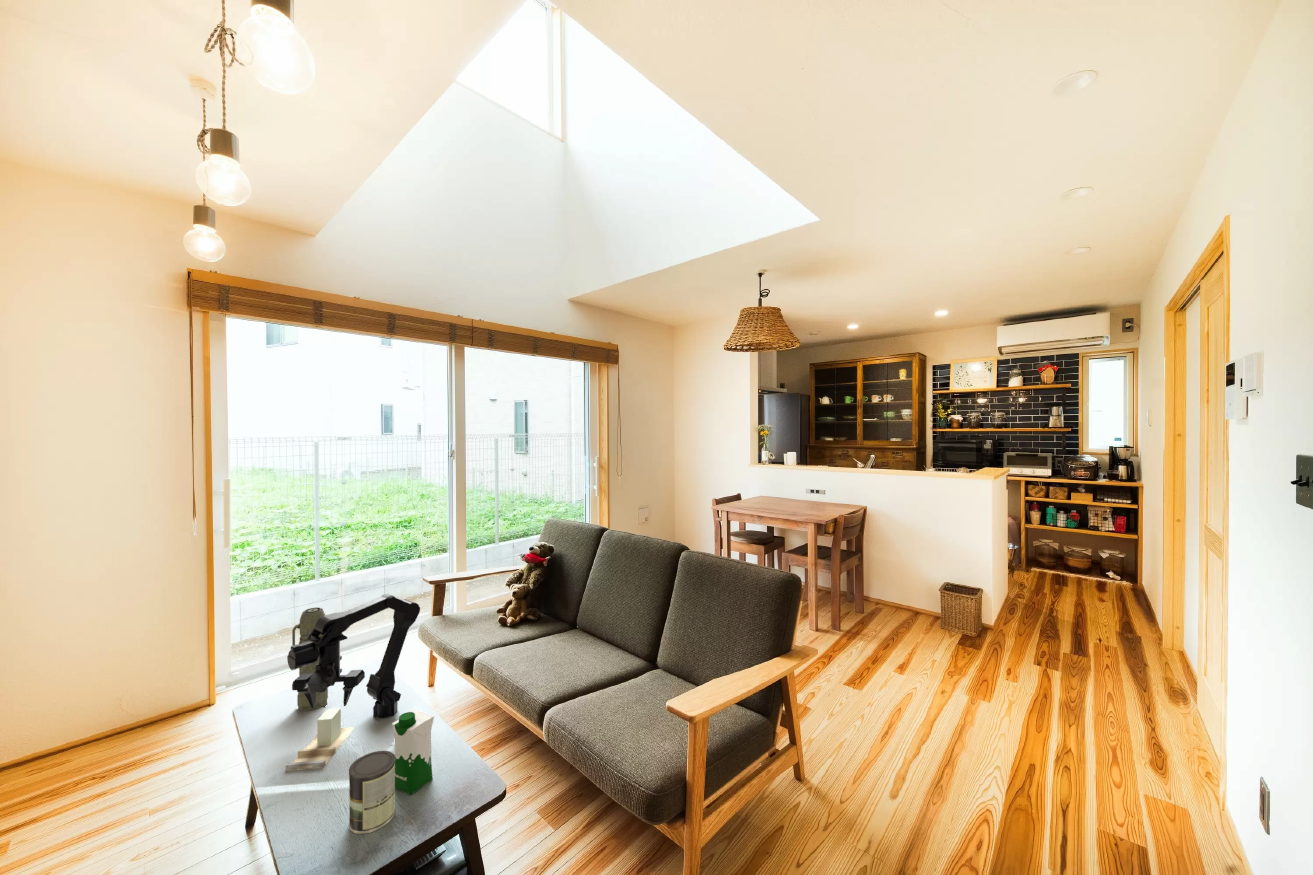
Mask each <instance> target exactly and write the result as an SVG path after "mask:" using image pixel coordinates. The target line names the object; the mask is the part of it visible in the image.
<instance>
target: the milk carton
mask: <svg viewBox="0 0 1313 875" xmlns="http://www.w3.org/2000/svg"><path fill="white" fill-rule="evenodd" d="M434 718H435V715H433V714H429V713H427V712H425V711H420V710H417V709H415V710H413V711H407V712H404V713H402V714H401V715H399V717H398V719H397V720H395V721H394V722H392V723H391V728H392V733H393V738H394V755H395V790H399V791H401V792H403V793H404V794H408V795H409V796H413V795H414V794H415V793H416V792H418V790H420V789H421V788H423V787H424V786H426V785H427V784H428V783H429V782H430V781H432V780H433V768H432V767H433V766H432V765H433V764H432V727H433V724H434Z"/></svg>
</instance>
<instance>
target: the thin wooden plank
mask: <svg viewBox="0 0 1313 875" xmlns="http://www.w3.org/2000/svg"><path fill="white" fill-rule="evenodd" d="M355 728H356V727H355V726H354V727H353V726H351V727H341V734H340V735H339V736H338V737H337V738H336V740H335V741H334V742H333V743H332V745H323V746H317V735H315V736H314V738H313V739H312V740H310V742H309V743H308V745H307V746H306V747H305V748H304V749H298V751H297V757H296V758H295V759H294V760H293V761H292V762H287V763H286V764H285V772H289V771H290V772H291V771H292V772H293V771H302V770H313V769H324V768H325V766H326V765H327V764H328V763H329V762H330V760H331V759H332V757H333V756H334V755H335V754H336V753H337V751H338V750H339V749H340V747H341V746H342V744H343V743H344V742H345V741H346V740H347V738H348V737H349V736H350V735H351V733H352V732H353V730H354V729H355Z"/></svg>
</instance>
